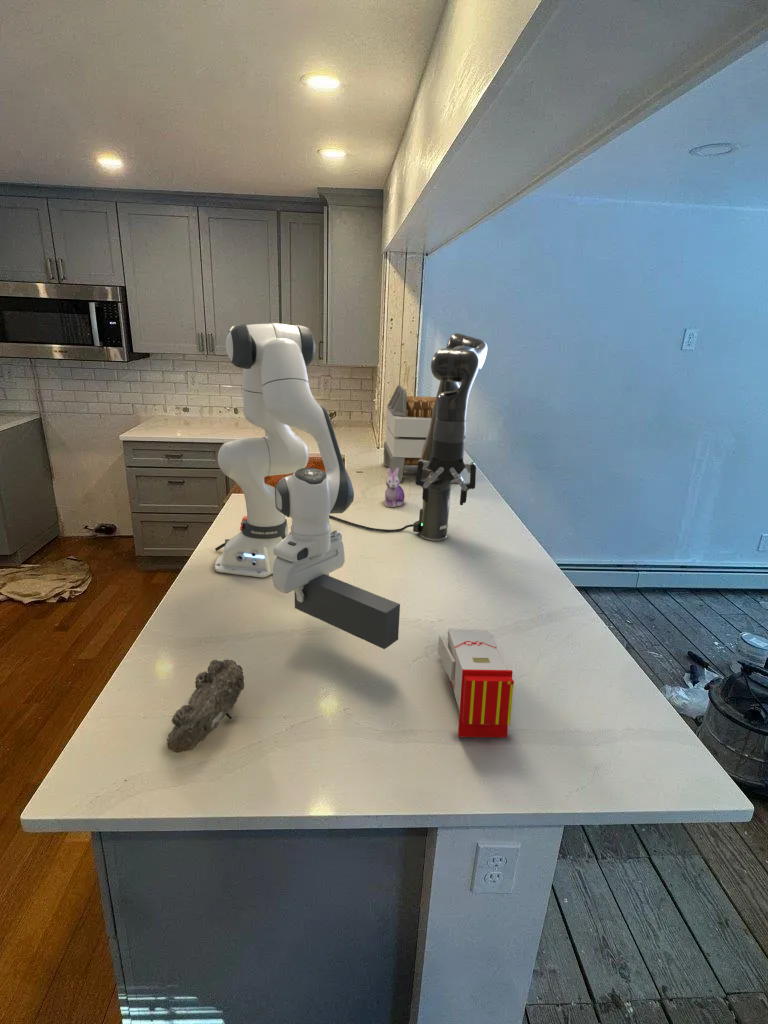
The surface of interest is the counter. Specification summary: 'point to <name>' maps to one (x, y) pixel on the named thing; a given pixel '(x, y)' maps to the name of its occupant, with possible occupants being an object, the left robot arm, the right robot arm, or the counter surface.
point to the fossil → (206, 705)
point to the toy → (478, 682)
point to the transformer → (406, 429)
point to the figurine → (393, 490)
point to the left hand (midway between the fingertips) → (311, 595)
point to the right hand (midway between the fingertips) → (443, 503)
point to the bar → (352, 610)
